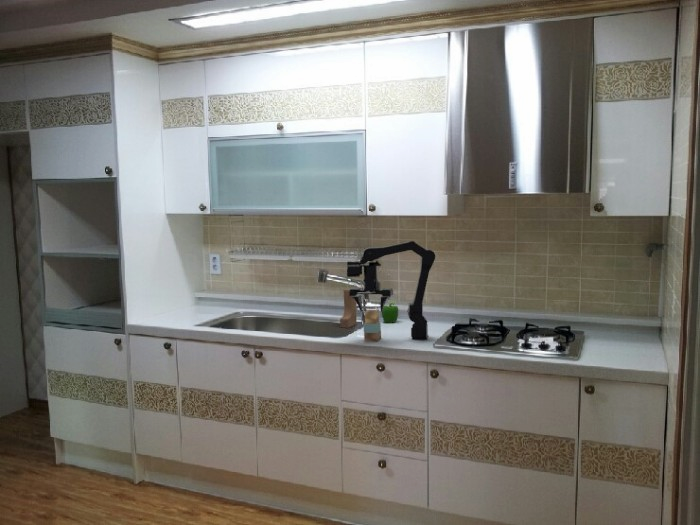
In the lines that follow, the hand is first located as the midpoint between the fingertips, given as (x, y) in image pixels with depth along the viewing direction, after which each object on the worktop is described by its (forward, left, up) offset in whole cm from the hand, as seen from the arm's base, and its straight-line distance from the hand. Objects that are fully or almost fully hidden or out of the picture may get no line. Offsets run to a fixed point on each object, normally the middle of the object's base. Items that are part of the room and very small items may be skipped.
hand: (371, 311), depth 272 cm
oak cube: (0, 0, -5) cm, 5 cm away
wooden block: (+20, -28, -13) cm, 37 cm away
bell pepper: (+2, -40, -13) cm, 42 cm away
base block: (0, 0, -13) cm, 13 cm away
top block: (0, 0, -9) cm, 9 cm away
